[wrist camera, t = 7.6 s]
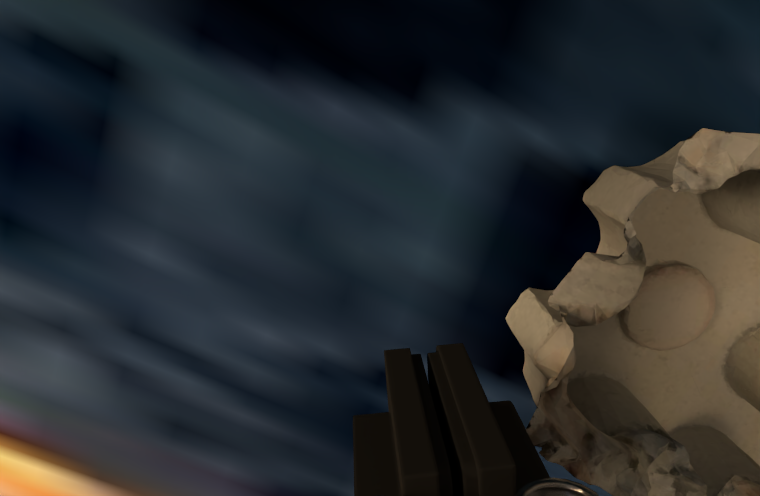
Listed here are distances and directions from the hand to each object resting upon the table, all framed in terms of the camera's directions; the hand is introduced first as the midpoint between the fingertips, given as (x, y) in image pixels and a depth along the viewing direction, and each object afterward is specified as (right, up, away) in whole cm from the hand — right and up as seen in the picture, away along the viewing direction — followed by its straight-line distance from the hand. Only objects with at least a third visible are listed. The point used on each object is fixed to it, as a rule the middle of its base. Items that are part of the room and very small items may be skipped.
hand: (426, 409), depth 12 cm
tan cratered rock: (+8, +1, +3) cm, 8 cm away
